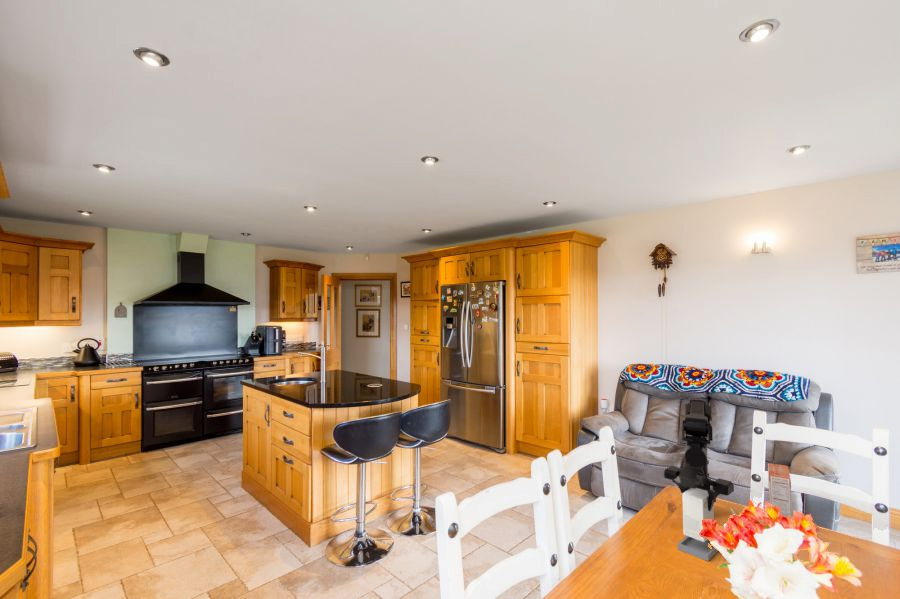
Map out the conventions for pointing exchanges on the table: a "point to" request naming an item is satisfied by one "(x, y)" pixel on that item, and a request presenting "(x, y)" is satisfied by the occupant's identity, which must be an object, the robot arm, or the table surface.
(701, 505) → the small box
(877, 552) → the table surface
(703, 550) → the tray
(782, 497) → the cracker box
